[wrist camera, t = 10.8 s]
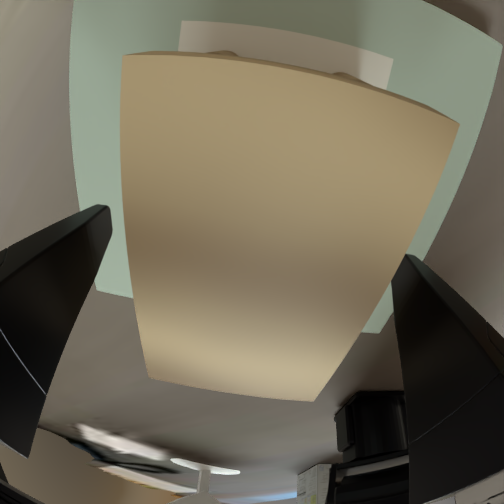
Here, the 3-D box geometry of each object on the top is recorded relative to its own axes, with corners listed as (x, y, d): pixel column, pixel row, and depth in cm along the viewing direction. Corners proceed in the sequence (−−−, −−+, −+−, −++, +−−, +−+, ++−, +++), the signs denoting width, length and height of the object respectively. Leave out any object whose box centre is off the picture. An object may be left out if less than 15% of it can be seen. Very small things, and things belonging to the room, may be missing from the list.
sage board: (488, 42, 9) (502, 45, 8) (375, 319, 20) (378, 333, 19) (92, -29, 8) (78, -32, 7) (104, 277, 19) (96, 290, 18)
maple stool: (305, 275, 16) (313, 401, 11) (188, 256, 16) (148, 377, 10) (365, 76, 10) (459, 123, 4) (206, 46, 10) (122, 55, 4)
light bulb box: (328, 475, 50) (328, 522, 41) (296, 475, 49) (294, 523, 41) (352, 462, 43) (354, 517, 35) (316, 463, 43) (316, 520, 34)
